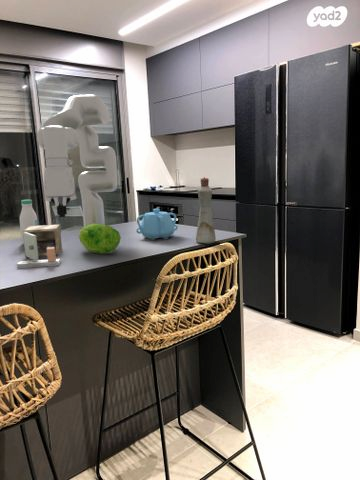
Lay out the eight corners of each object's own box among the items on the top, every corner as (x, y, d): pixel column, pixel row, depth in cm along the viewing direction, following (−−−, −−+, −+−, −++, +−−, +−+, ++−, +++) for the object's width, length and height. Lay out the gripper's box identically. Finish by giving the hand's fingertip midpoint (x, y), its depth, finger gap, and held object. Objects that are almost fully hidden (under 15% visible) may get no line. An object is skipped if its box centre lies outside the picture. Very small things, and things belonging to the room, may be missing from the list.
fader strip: (60, 262, 142) (60, 258, 142) (58, 265, 138) (58, 261, 138) (20, 265, 140) (19, 261, 139) (17, 268, 136) (16, 264, 136)
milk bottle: (34, 245, 174) (29, 200, 170) (18, 245, 176) (13, 200, 172) (43, 241, 182) (38, 198, 178) (28, 241, 183) (23, 199, 179)
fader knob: (56, 258, 141) (55, 246, 140) (55, 260, 138) (53, 248, 137) (49, 259, 140) (47, 246, 140) (47, 261, 138) (46, 248, 137)
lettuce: (97, 246, 168) (95, 219, 166) (129, 254, 152) (127, 224, 149) (70, 251, 159) (68, 223, 157) (101, 260, 143) (99, 229, 141)
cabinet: (62, 249, 165) (59, 224, 163) (58, 254, 155) (56, 228, 153) (32, 250, 163) (29, 226, 161) (27, 256, 153) (24, 230, 151)
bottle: (191, 243, 167) (190, 177, 162) (200, 239, 175) (199, 176, 169) (210, 245, 163) (209, 177, 158) (218, 241, 171) (218, 176, 165)
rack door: (38, 261, 144) (35, 234, 142) (32, 262, 142) (29, 235, 140) (27, 255, 153) (24, 230, 151) (21, 256, 152) (19, 231, 150)
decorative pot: (154, 233, 195) (153, 206, 192) (181, 235, 186) (180, 207, 183) (133, 239, 182) (131, 210, 179) (161, 242, 173) (159, 211, 170)
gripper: (80, 163, 138) (85, 214, 142) (37, 164, 136) (42, 216, 139) (78, 163, 131) (83, 217, 134) (32, 164, 128) (38, 219, 132)
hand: (62, 216), depth 137 cm, fingers closed
